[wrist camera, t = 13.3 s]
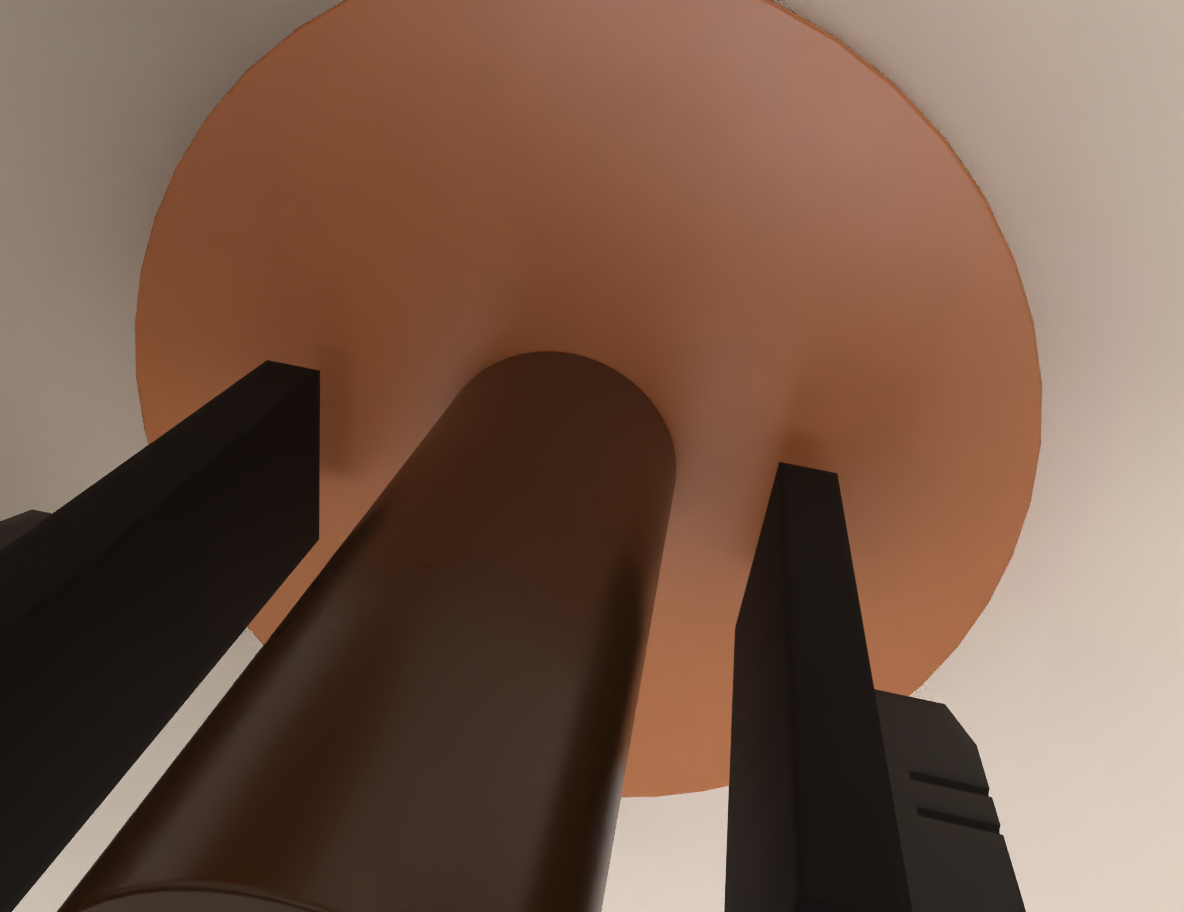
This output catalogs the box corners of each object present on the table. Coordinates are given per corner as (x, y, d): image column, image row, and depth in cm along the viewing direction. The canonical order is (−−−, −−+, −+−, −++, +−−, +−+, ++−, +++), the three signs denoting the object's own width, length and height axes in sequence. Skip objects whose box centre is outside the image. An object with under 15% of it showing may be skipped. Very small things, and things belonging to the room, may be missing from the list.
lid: (58, 453, 17) (-761, 974, 8) (468, -309, 11) (-965, -1886, 2) (630, 855, 19) (514, 1632, 10) (1231, 401, 13) (2309, 1298, 4)
